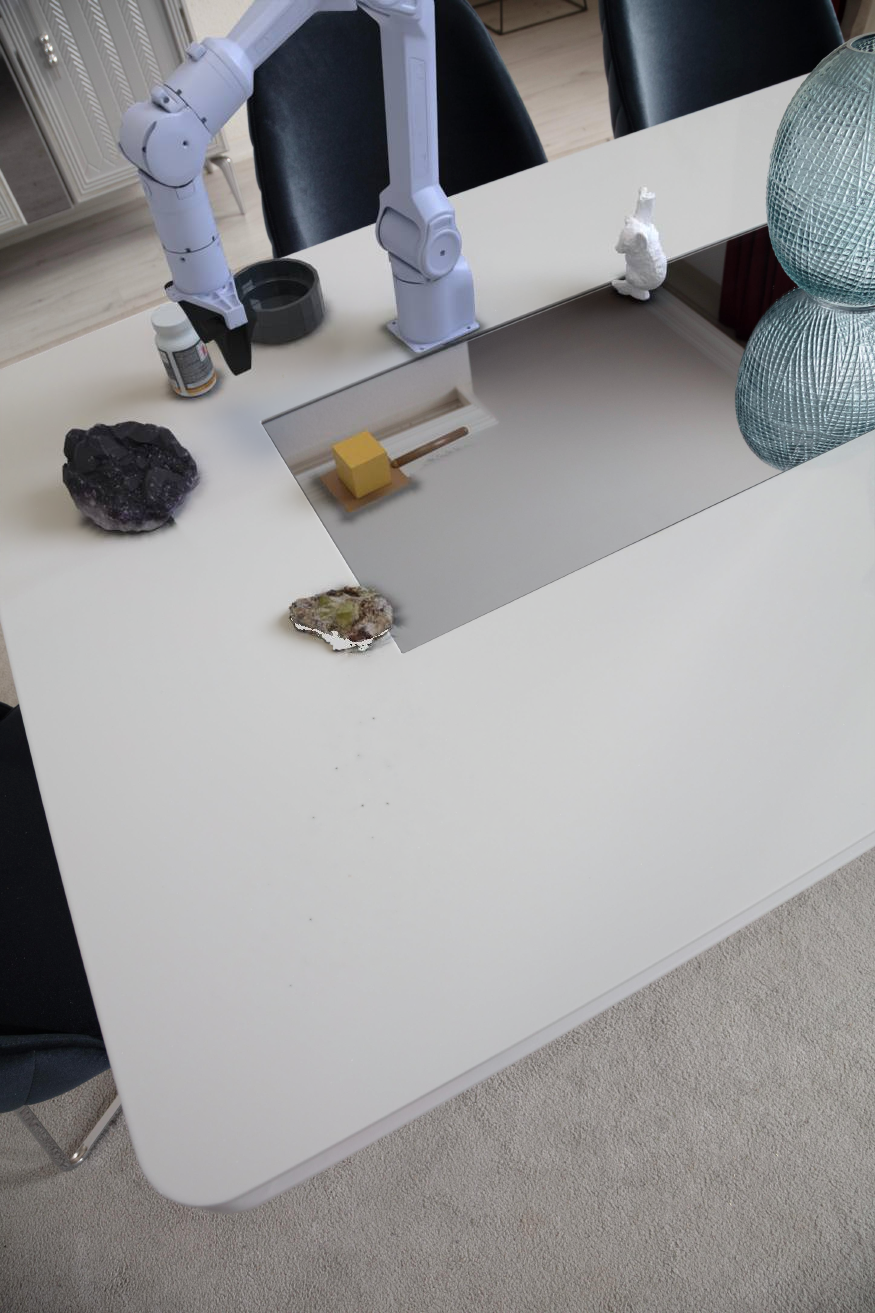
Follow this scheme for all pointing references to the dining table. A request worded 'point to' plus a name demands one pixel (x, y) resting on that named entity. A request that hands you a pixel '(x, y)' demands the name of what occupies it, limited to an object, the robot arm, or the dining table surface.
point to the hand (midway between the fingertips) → (226, 354)
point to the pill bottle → (182, 352)
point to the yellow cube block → (362, 464)
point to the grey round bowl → (281, 298)
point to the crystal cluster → (127, 474)
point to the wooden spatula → (396, 474)
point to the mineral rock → (344, 613)
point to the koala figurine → (641, 251)
